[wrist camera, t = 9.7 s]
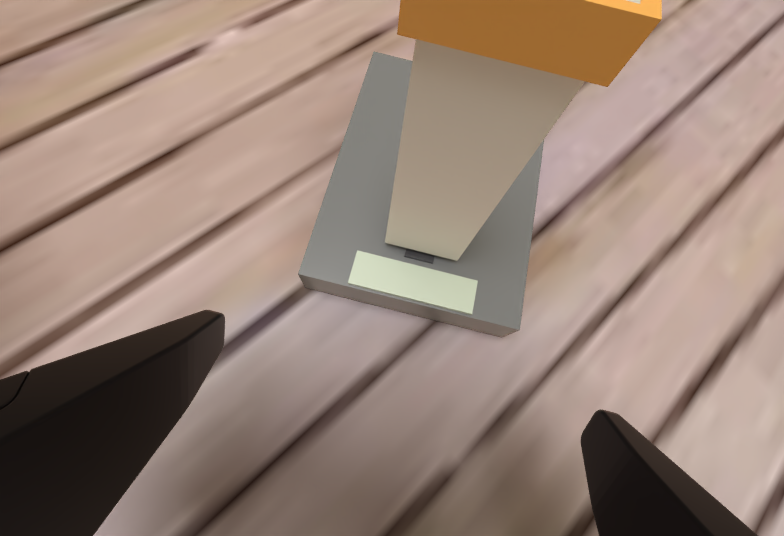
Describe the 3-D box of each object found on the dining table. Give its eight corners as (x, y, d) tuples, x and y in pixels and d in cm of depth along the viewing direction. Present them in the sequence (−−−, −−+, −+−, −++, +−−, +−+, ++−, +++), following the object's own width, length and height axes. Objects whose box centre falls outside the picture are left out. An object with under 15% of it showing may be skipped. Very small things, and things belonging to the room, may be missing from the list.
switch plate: (501, 337, 17) (521, 328, 15) (305, 287, 17) (297, 272, 15) (532, 122, 21) (551, 92, 19) (372, 82, 21) (373, 47, 19)
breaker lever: (463, 267, 15) (660, 19, 5) (376, 245, 15) (405, -45, 5) (473, 215, 16) (662, -89, 6) (390, 194, 16) (439, -144, 6)
